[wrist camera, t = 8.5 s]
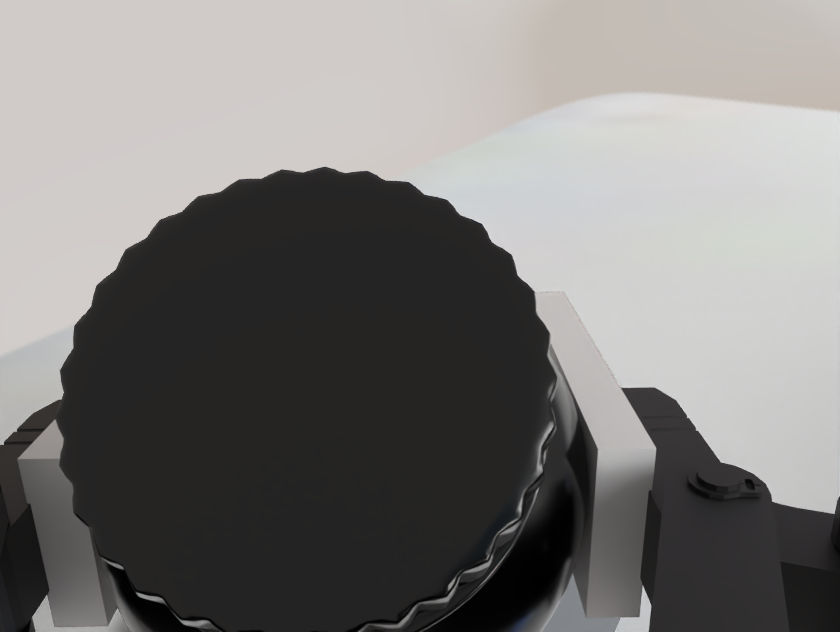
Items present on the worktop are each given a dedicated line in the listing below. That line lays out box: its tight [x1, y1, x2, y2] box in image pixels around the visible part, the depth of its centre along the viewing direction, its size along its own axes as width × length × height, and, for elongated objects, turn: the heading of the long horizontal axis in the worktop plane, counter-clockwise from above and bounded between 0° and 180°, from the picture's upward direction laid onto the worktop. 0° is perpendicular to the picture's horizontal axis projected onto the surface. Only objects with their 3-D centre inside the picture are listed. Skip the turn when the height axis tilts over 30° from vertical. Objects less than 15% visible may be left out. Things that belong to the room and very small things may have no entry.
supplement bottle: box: [55, 167, 588, 632], centre depth 13 cm, size 7×7×12 cm
